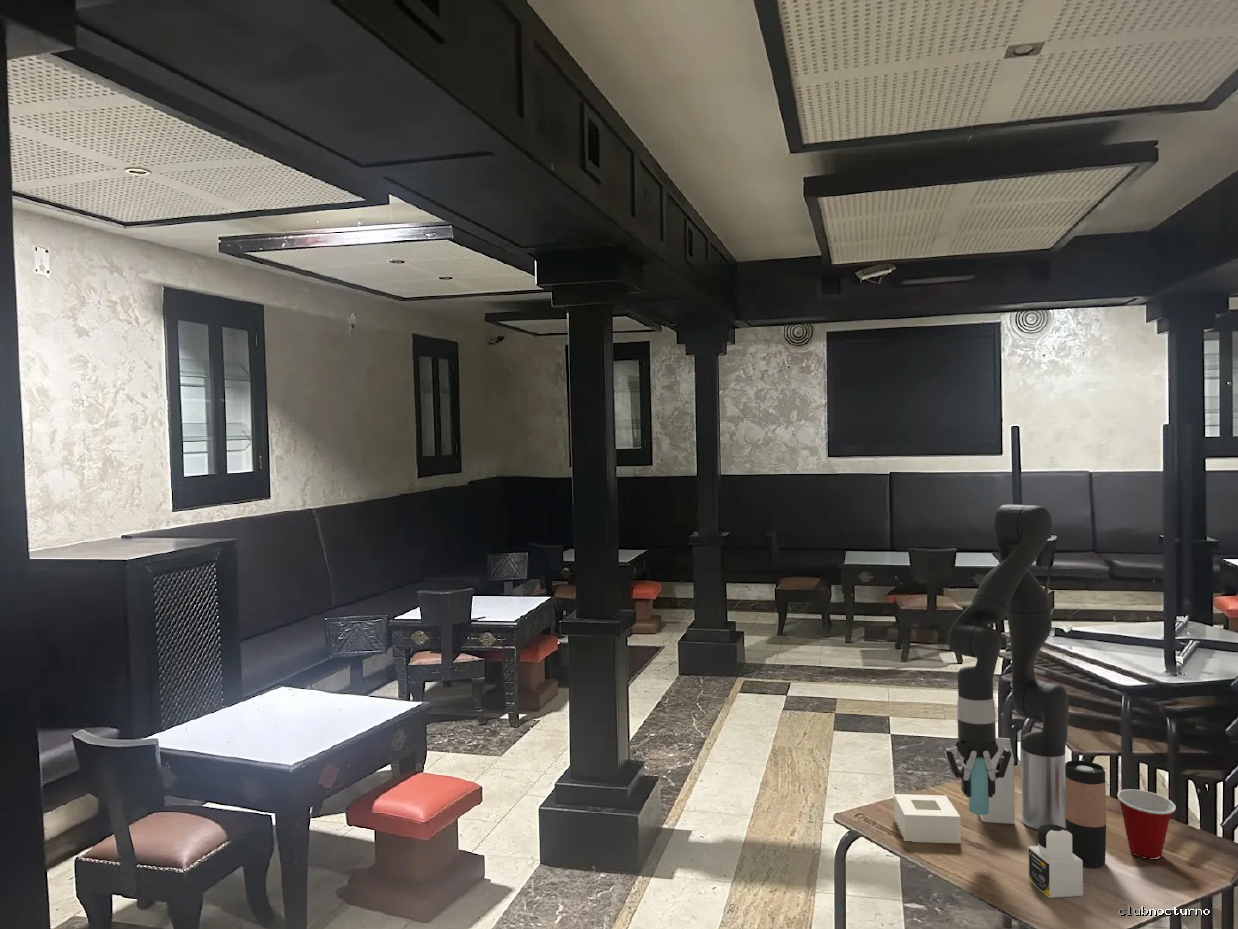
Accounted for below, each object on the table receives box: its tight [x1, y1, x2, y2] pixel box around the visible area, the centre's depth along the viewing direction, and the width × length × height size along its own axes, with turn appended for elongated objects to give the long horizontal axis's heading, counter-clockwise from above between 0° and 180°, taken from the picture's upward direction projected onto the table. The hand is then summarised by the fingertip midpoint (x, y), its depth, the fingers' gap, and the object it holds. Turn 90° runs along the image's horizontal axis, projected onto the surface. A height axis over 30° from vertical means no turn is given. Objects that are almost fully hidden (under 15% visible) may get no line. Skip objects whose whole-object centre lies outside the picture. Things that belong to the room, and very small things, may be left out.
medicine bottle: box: [1028, 824, 1084, 899], centre depth 171 cm, size 7×7×12 cm
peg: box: [968, 757, 989, 816], centre depth 185 cm, size 4×4×12 cm
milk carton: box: [978, 737, 1016, 825], centre depth 204 cm, size 7×7×19 cm
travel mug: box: [1065, 759, 1107, 869], centre depth 182 cm, size 8×8×20 cm
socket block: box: [893, 793, 962, 844], centre depth 198 cm, size 12×12×6 cm
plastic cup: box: [1116, 788, 1177, 858], centre depth 185 cm, size 11×11×12 cm
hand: (978, 795), depth 185 cm, fingers closed on peg, 4 cm apart
